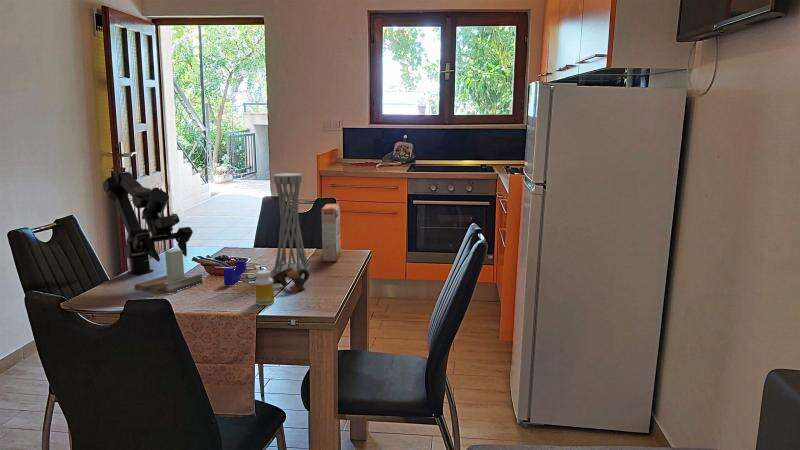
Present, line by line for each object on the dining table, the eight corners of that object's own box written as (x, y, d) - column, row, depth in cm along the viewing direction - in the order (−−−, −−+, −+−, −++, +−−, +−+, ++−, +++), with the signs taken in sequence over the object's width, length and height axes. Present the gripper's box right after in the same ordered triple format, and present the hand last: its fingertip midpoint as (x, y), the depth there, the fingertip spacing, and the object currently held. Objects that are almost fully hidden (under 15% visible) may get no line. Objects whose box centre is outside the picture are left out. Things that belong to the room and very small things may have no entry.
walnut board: (135, 288, 196) (134, 278, 195) (169, 278, 208) (168, 269, 207) (169, 294, 189) (168, 284, 188) (202, 283, 201) (201, 274, 200)
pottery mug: (285, 297, 186) (273, 274, 186) (277, 303, 194) (266, 280, 194) (318, 281, 192) (306, 258, 193) (309, 287, 200) (297, 266, 201)
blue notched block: (234, 276, 209) (233, 260, 208) (246, 277, 209) (245, 260, 208) (220, 286, 198) (218, 268, 197) (233, 286, 197) (231, 269, 196)
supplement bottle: (275, 304, 176) (273, 273, 175) (256, 306, 175) (255, 274, 173) (272, 299, 182) (271, 268, 180) (254, 301, 180) (253, 270, 178)
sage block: (167, 283, 196) (164, 250, 194) (179, 280, 199) (176, 248, 197) (173, 285, 194) (170, 252, 192) (184, 282, 196) (182, 250, 195)
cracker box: (337, 262, 229) (336, 208, 225) (322, 262, 229) (320, 208, 225) (341, 253, 242) (340, 203, 239) (327, 254, 242) (325, 203, 239)
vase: (299, 275, 209) (294, 176, 203) (266, 272, 214) (260, 175, 207) (316, 266, 222) (313, 173, 216) (285, 264, 226) (280, 172, 220)
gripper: (133, 209, 190) (151, 248, 184) (188, 203, 203) (206, 239, 197) (125, 230, 196) (142, 268, 191) (179, 223, 210) (196, 258, 204)
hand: (172, 258), depth 196 cm, fingers open, 9 cm apart
